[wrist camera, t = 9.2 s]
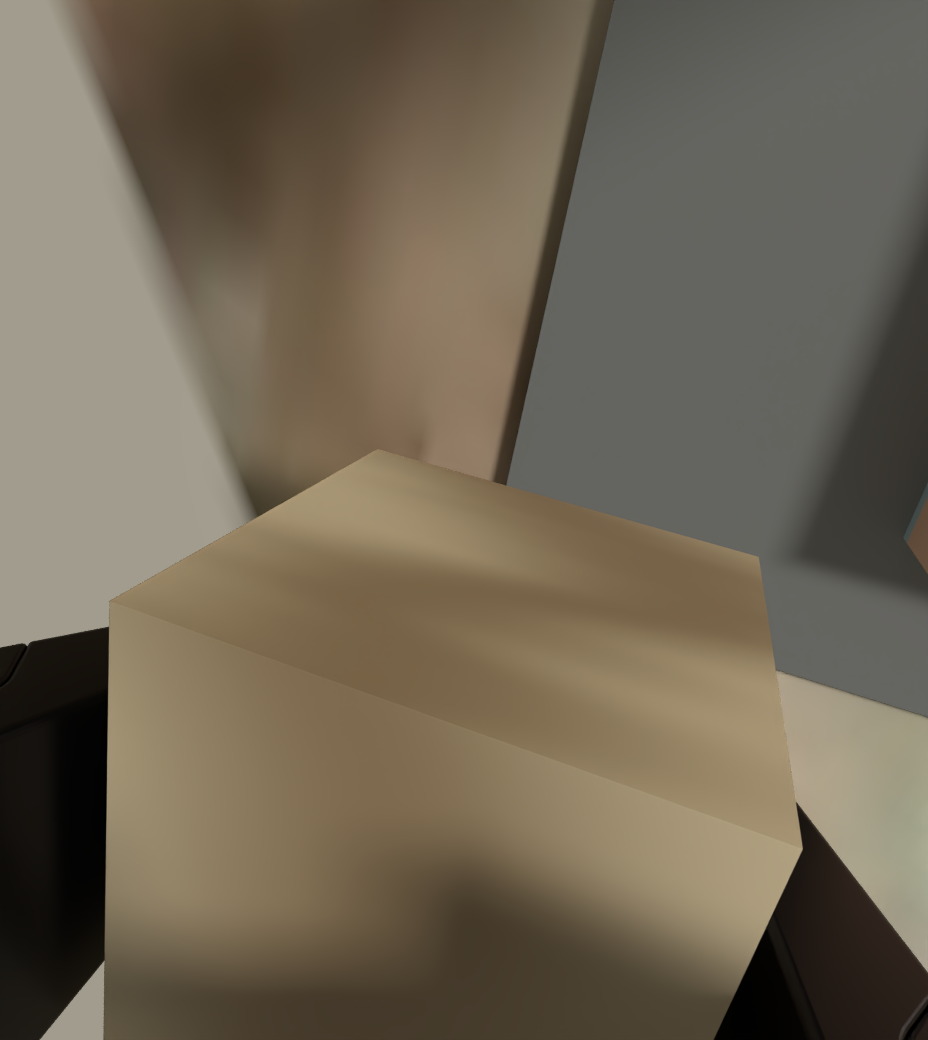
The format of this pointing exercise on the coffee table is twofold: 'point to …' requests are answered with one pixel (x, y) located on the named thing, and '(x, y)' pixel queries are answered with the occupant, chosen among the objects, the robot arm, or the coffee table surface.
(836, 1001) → the robot arm
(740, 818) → the cube
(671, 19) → the mat
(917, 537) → the tile
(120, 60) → the coffee table surface
